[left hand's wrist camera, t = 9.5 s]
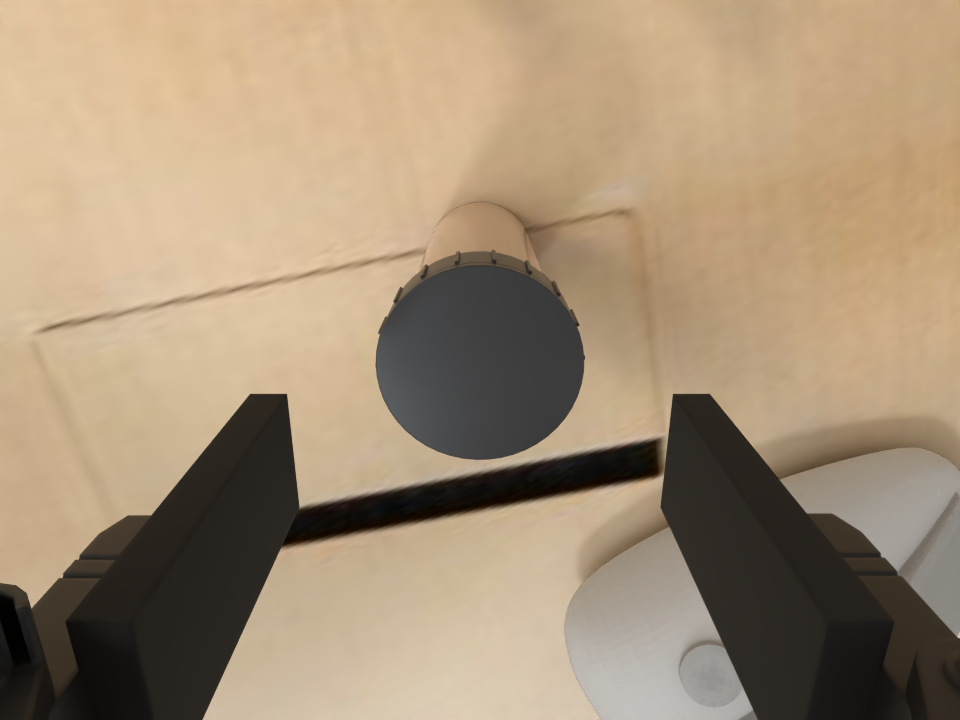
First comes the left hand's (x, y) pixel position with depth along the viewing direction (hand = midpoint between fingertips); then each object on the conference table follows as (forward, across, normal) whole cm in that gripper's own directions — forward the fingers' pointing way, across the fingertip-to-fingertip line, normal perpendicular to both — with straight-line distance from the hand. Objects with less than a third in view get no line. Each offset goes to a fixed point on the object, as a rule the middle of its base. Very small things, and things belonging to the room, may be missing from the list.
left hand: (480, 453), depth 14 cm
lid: (+5, 0, 0) cm, 5 cm away
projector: (+21, +17, -19) cm, 33 cm away
